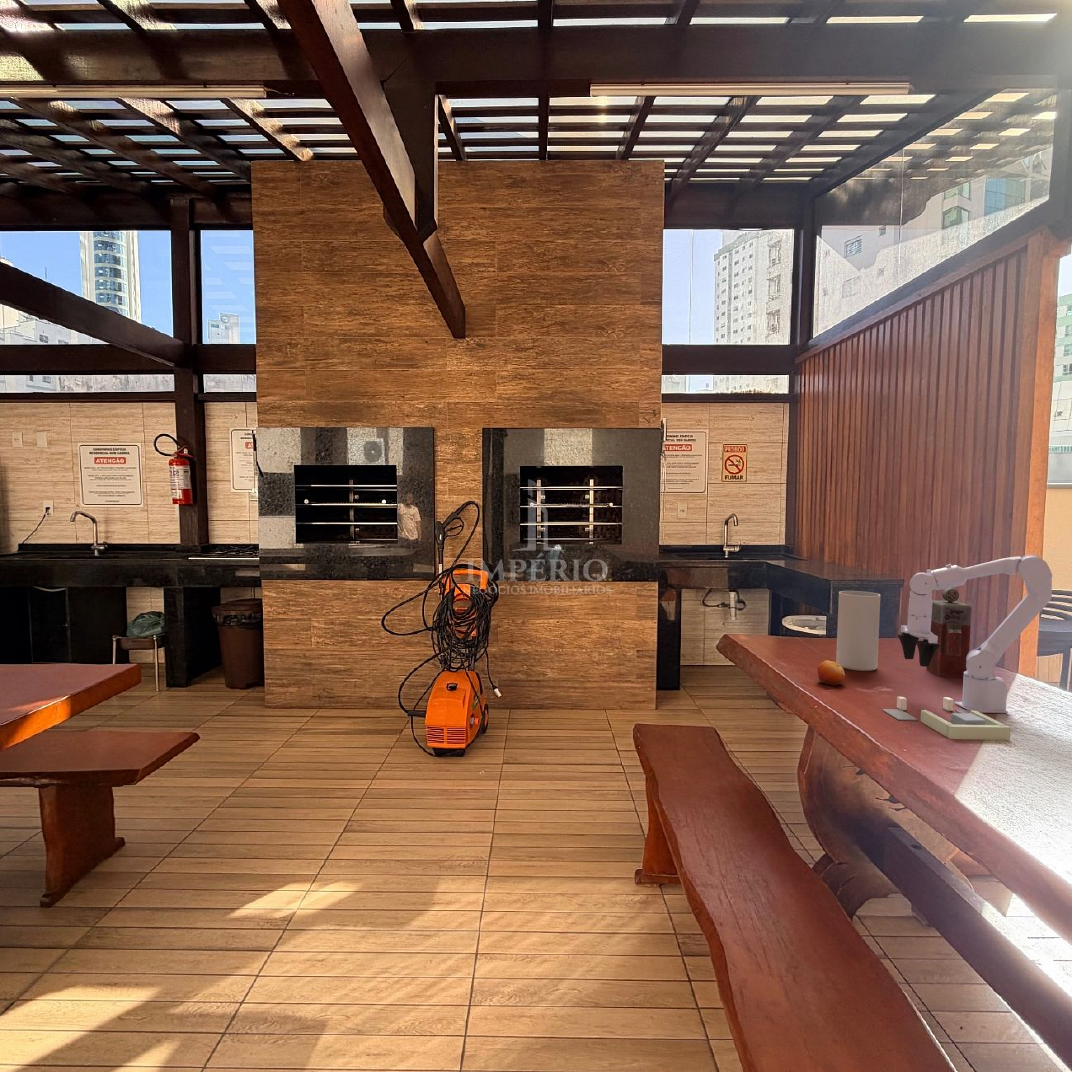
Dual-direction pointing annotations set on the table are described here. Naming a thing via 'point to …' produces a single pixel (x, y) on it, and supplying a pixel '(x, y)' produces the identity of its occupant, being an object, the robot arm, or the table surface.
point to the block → (966, 719)
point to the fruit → (831, 673)
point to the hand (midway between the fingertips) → (916, 662)
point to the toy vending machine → (950, 635)
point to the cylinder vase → (858, 630)
